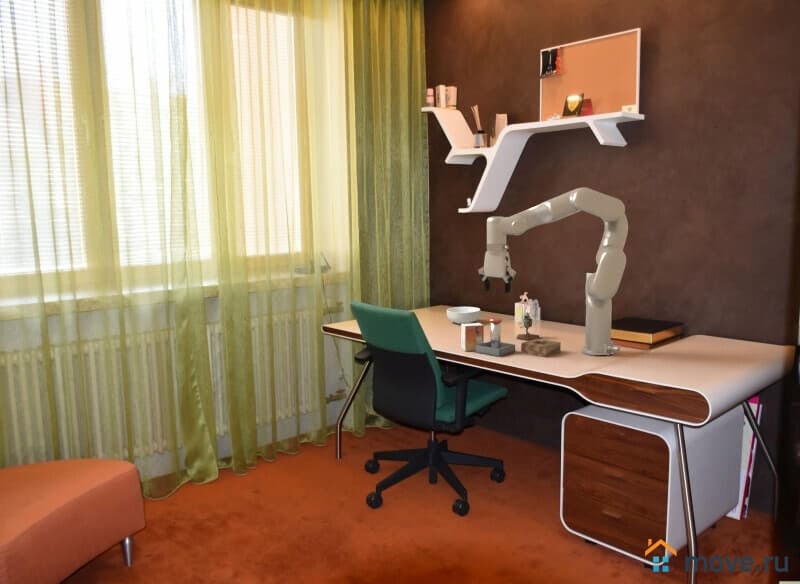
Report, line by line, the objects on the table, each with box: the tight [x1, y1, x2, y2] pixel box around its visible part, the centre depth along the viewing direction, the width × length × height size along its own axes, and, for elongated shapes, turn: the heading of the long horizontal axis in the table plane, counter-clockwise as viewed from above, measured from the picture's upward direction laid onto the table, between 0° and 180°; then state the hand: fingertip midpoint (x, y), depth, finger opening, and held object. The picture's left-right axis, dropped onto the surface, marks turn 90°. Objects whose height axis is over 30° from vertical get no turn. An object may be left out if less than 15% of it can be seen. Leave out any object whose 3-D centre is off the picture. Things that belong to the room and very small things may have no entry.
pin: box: [488, 317, 503, 349], centre depth 259 cm, size 5×5×13 cm
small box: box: [460, 322, 485, 352], centre depth 264 cm, size 8×6×10 cm
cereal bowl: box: [446, 306, 481, 325], centre depth 322 cm, size 17×17×7 cm
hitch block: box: [520, 338, 561, 358], centre depth 257 cm, size 11×11×4 cm
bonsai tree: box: [516, 311, 540, 342], centre depth 284 cm, size 11×9×12 cm
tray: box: [475, 341, 516, 358], centre depth 259 cm, size 11×11×3 cm
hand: (496, 291), depth 256 cm, fingers open, 9 cm apart
